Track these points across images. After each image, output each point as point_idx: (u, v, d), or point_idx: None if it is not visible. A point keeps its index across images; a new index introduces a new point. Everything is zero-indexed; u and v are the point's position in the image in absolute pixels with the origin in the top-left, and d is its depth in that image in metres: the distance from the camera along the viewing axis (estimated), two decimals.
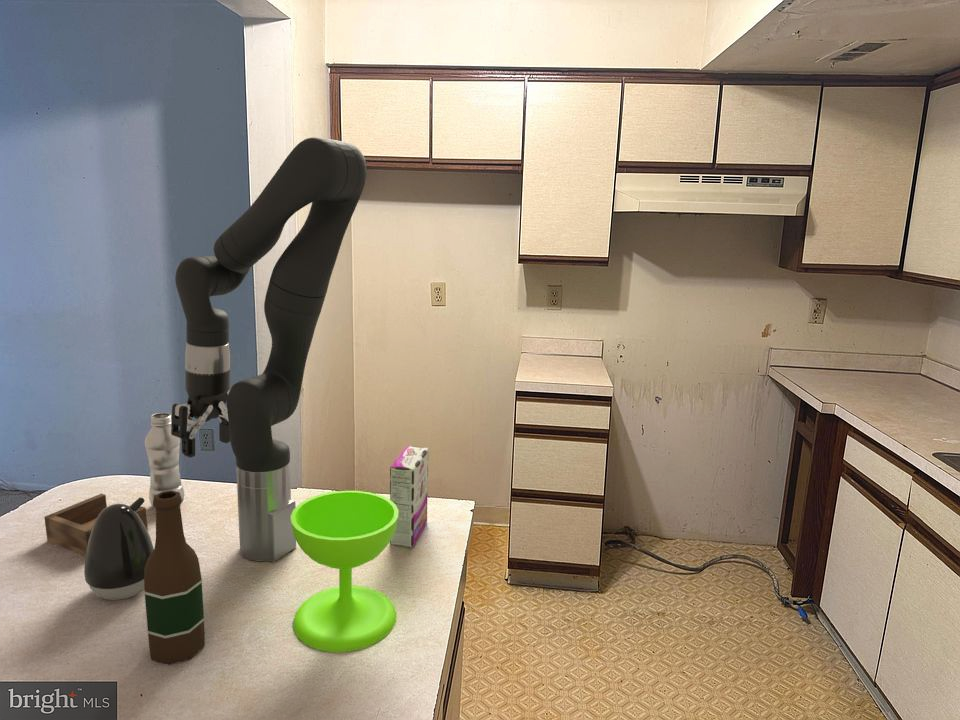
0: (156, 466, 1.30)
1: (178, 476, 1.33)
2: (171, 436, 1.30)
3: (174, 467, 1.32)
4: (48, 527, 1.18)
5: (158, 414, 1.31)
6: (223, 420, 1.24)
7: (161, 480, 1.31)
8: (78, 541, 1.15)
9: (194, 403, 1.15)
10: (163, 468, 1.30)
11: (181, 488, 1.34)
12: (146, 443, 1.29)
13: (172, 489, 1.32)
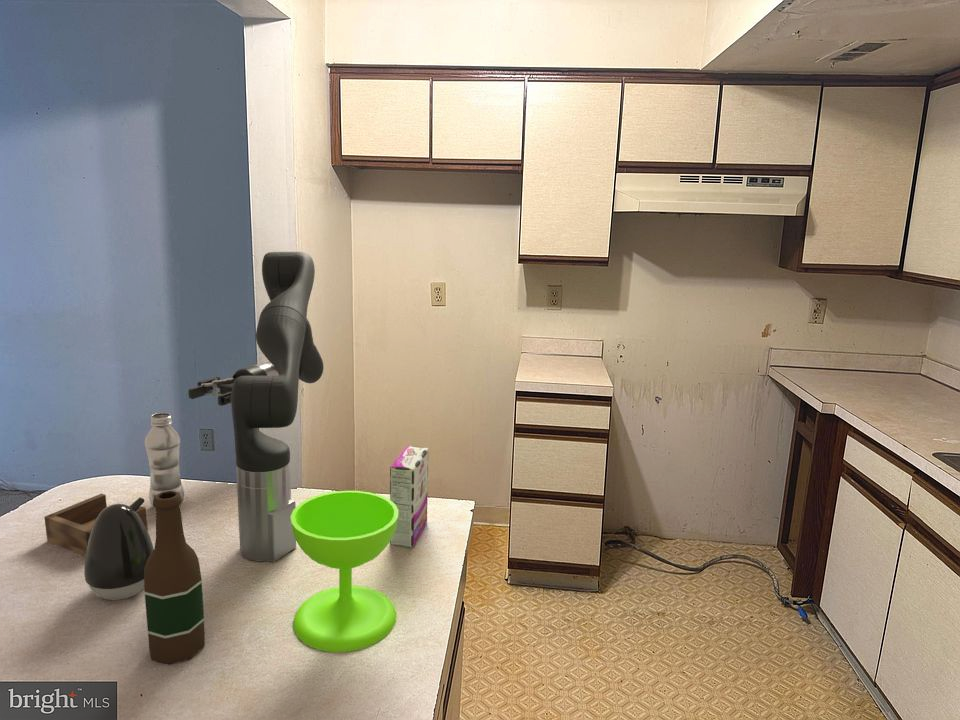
0: (156, 466, 1.30)
1: (178, 476, 1.33)
2: (171, 436, 1.30)
3: (174, 467, 1.32)
4: (48, 527, 1.18)
5: (158, 414, 1.31)
6: None
7: (161, 480, 1.31)
8: (78, 541, 1.15)
9: None
10: (163, 468, 1.30)
11: (181, 488, 1.34)
12: (146, 443, 1.29)
13: (172, 489, 1.32)
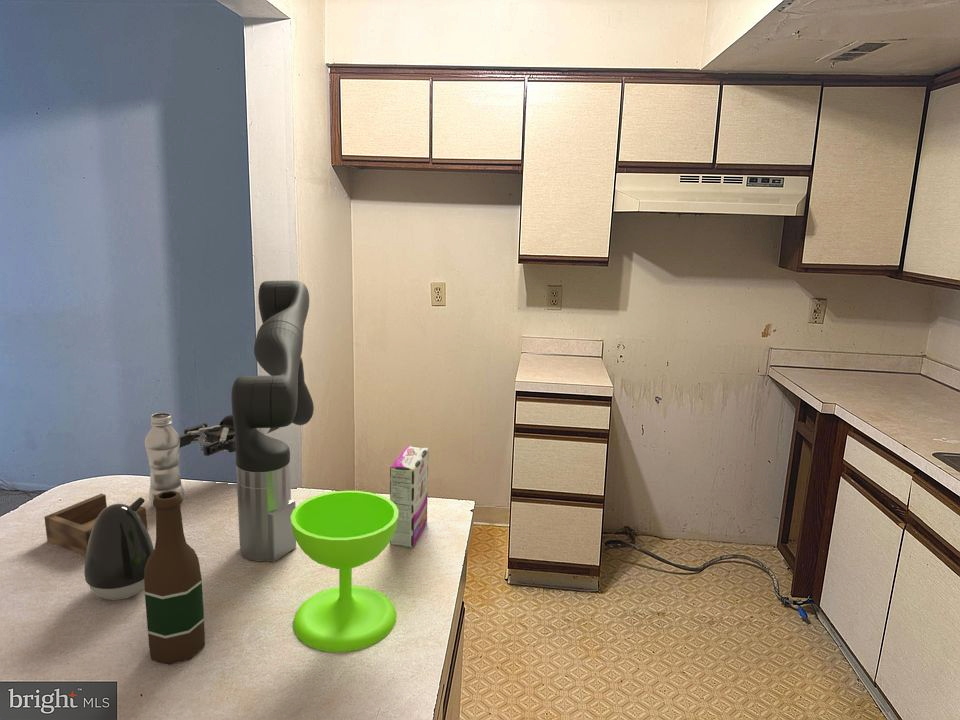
0: (156, 466, 1.30)
1: (178, 476, 1.33)
2: (171, 436, 1.30)
3: (174, 467, 1.32)
4: (48, 527, 1.18)
5: (158, 414, 1.31)
6: None
7: (161, 480, 1.31)
8: (78, 541, 1.15)
9: None
10: (163, 468, 1.30)
11: (181, 488, 1.34)
12: (146, 443, 1.29)
13: (172, 489, 1.32)
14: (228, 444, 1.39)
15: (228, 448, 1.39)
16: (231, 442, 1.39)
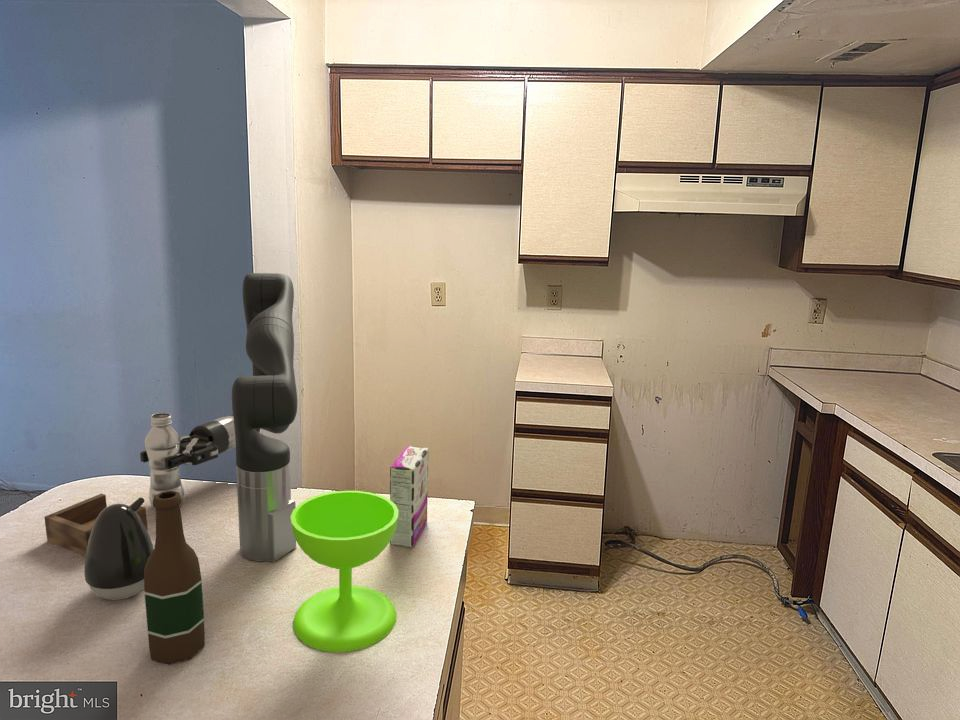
0: (156, 466, 1.30)
1: (178, 476, 1.33)
2: (171, 436, 1.30)
3: (174, 467, 1.31)
4: (48, 527, 1.18)
5: (158, 414, 1.31)
6: None
7: (161, 480, 1.30)
8: (78, 541, 1.15)
9: None
10: (163, 468, 1.30)
11: (181, 488, 1.34)
12: (146, 443, 1.29)
13: (172, 489, 1.32)
14: (191, 456, 1.32)
15: (191, 461, 1.32)
16: (194, 454, 1.31)
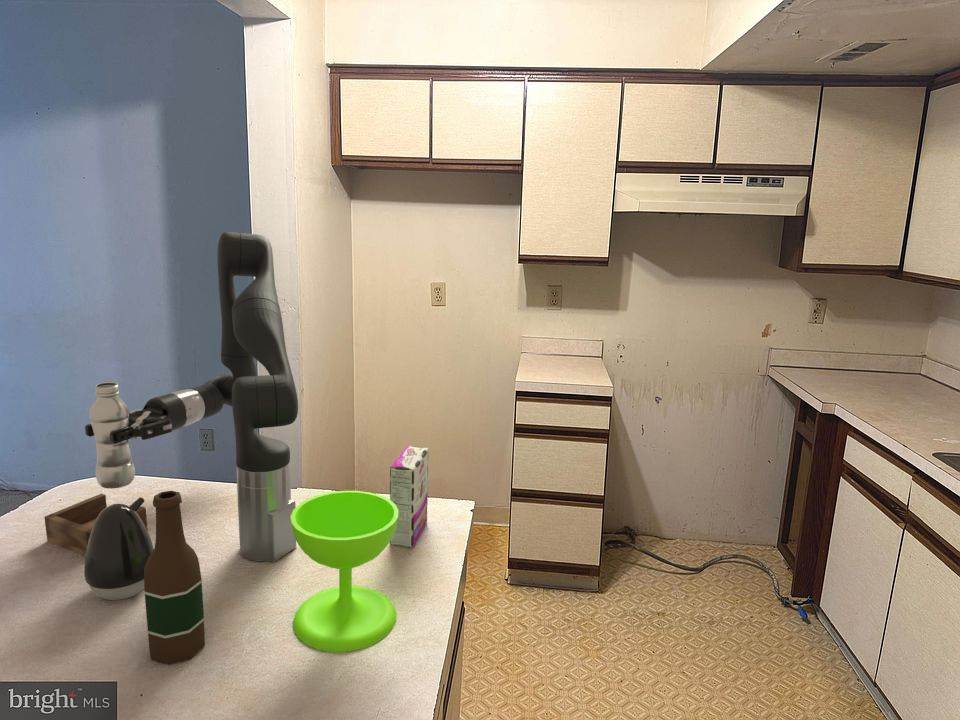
0: (101, 440, 1.19)
1: (127, 452, 1.22)
2: (118, 407, 1.19)
3: (122, 442, 1.21)
4: (48, 527, 1.18)
5: (104, 384, 1.20)
6: None
7: (108, 456, 1.20)
8: (78, 541, 1.15)
9: None
10: (109, 442, 1.19)
11: (131, 465, 1.23)
12: (90, 415, 1.18)
13: (119, 466, 1.21)
14: (140, 430, 1.21)
15: (141, 435, 1.21)
16: (143, 428, 1.20)
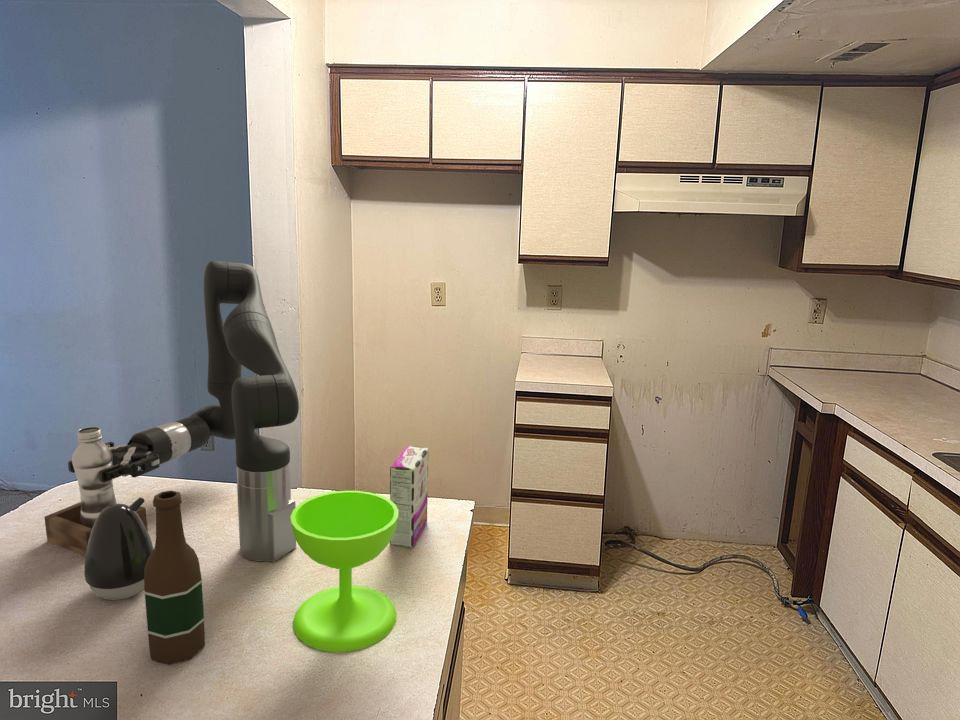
0: (85, 485, 1.17)
1: (112, 496, 1.21)
2: (101, 452, 1.18)
3: (106, 486, 1.19)
4: (48, 527, 1.18)
5: (87, 428, 1.19)
6: None
7: (92, 501, 1.18)
8: (78, 541, 1.15)
9: None
10: (93, 488, 1.18)
11: None
12: (73, 461, 1.16)
13: None
14: (130, 468, 1.19)
15: (130, 473, 1.19)
16: (134, 465, 1.19)
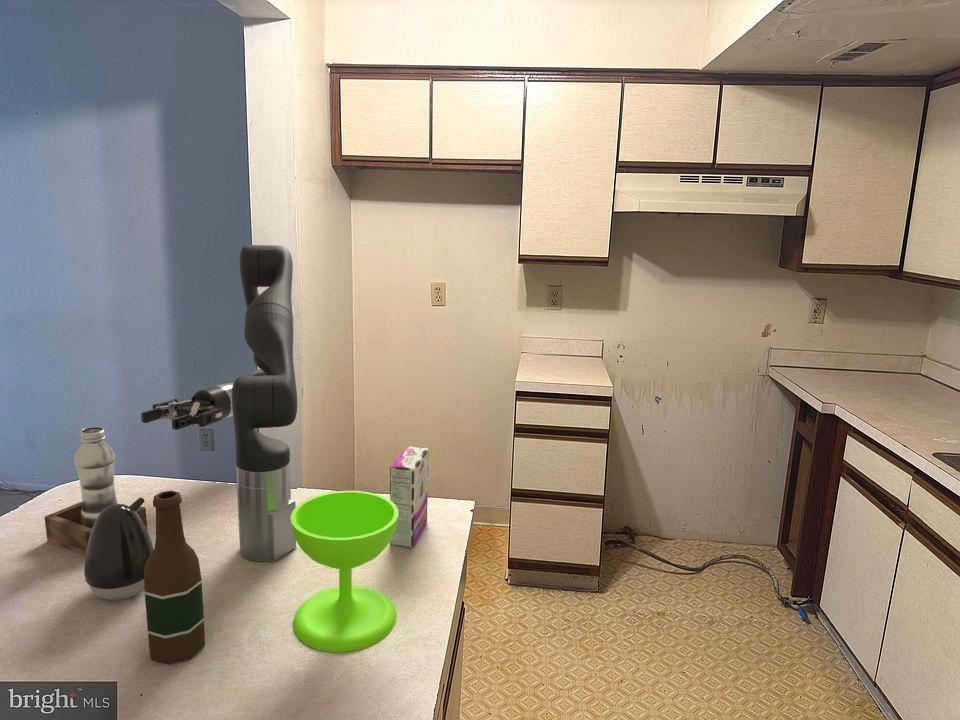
0: (87, 485, 1.18)
1: (113, 496, 1.21)
2: (104, 452, 1.18)
3: (108, 487, 1.19)
4: (48, 527, 1.18)
5: (90, 428, 1.19)
6: None
7: (93, 501, 1.18)
8: (78, 541, 1.15)
9: None
10: (95, 488, 1.18)
11: None
12: (75, 461, 1.17)
13: None
14: (199, 418, 1.31)
15: (198, 423, 1.31)
16: (202, 416, 1.31)
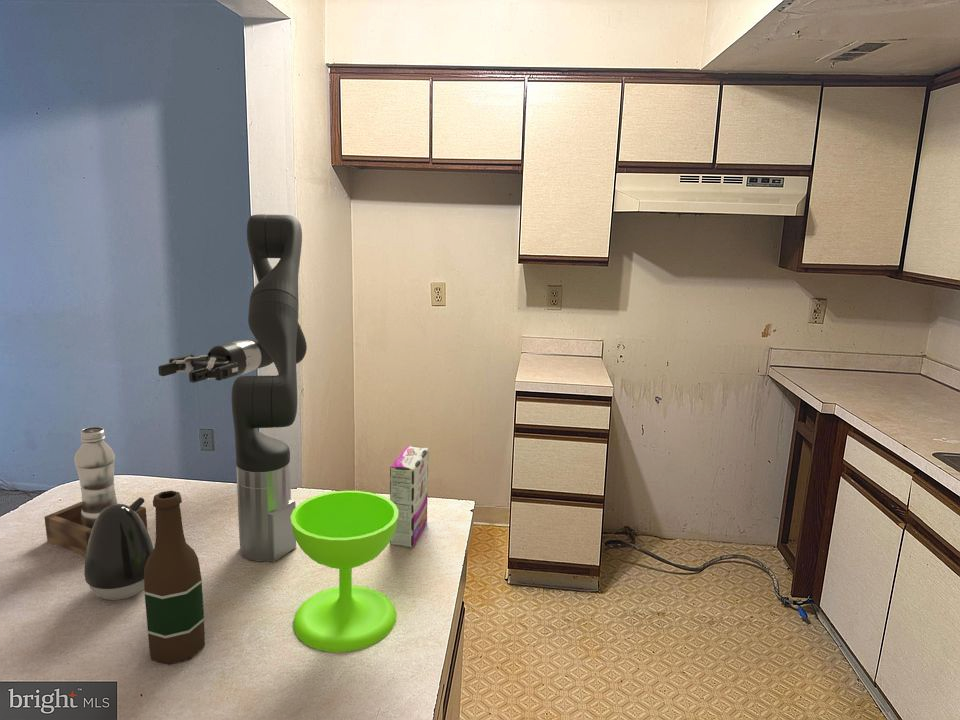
0: (87, 485, 1.18)
1: (113, 496, 1.21)
2: (104, 452, 1.18)
3: (108, 487, 1.19)
4: (48, 527, 1.18)
5: (90, 428, 1.19)
6: None
7: (93, 501, 1.18)
8: (78, 541, 1.15)
9: None
10: (95, 488, 1.18)
11: None
12: (75, 461, 1.17)
13: None
14: (215, 371, 1.32)
15: (215, 376, 1.32)
16: (218, 369, 1.32)
